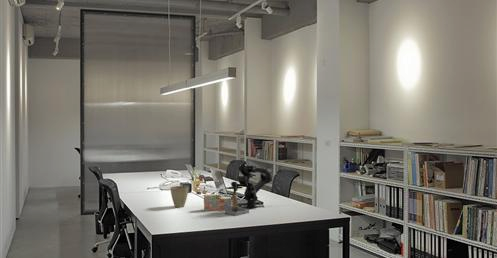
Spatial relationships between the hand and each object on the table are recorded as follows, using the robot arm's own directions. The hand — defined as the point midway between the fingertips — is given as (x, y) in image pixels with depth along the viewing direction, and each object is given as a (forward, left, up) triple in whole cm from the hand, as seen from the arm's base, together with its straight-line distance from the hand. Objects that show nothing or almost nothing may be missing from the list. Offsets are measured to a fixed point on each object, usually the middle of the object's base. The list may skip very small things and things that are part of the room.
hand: (239, 194), depth 372 cm
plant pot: (+18, -51, -14) cm, 56 cm away
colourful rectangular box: (+4, -20, -14) cm, 24 cm away
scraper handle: (+8, +3, -13) cm, 15 cm away
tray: (+5, +2, -14) cm, 15 cm away
